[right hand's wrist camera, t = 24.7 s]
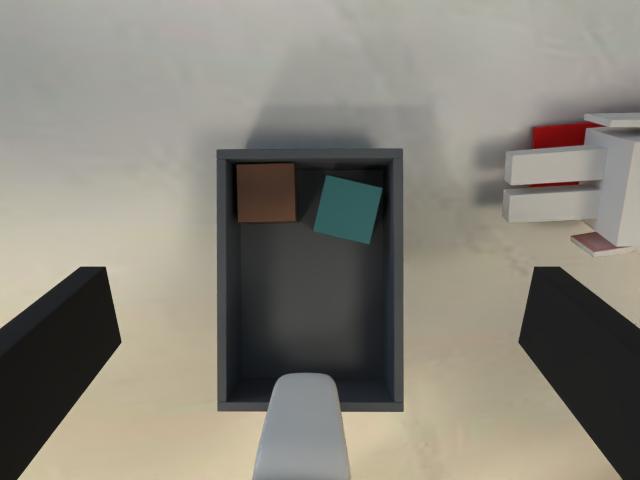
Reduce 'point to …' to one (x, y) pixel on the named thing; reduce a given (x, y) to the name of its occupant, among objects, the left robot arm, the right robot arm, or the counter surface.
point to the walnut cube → (267, 193)
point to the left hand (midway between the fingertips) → (310, 427)
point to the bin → (311, 287)
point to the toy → (581, 180)
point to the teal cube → (347, 209)
